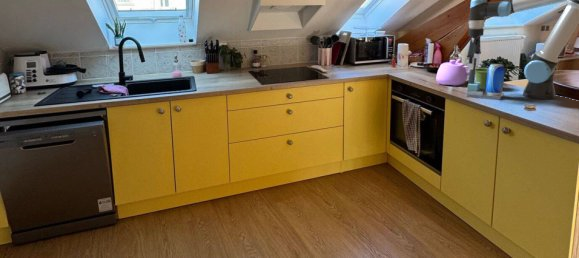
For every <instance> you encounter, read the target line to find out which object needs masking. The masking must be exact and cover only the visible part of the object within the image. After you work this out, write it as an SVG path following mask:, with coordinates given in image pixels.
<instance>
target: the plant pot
mask: <svg viewBox="0 0 579 258" xmlns="http://www.w3.org/2000/svg"><path fill="white" fill-rule="evenodd" d="M488 68H489V67H486V68H485V67H478V68H477V67H476V69H475V82H480V88H486V82H487V72H488Z"/></svg>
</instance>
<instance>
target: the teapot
mask: <svg viewBox="0 0 579 258" xmlns="http://www.w3.org/2000/svg"><path fill="white" fill-rule="evenodd" d="M460 61H461V59H460V58H458V59H456V60H455V59H451V60H449V62H448V61H447V62H443V63H441V64H440V66H439V68H438V70H437V73H436V78H435V80H436V82H437V84H440V85H441V86H445V85H447V86H449V85H450V86H453V87H457V86H461V85H464V84H465V83H466V81H467V79H468V77H469V71H470V69H468V65H465V64H464V63H462V62H460ZM467 70H468V71H467Z"/></svg>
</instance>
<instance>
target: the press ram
mask: <svg viewBox="0 0 579 258" xmlns="http://www.w3.org/2000/svg"><path fill="white" fill-rule="evenodd" d="M476 59H477V58H474V66H473V70H471V69H470V71H469V75H468V84H467V86H466V87H467V90H466V92H467V91H468V90H470V91H480V82H476V75H475V69H477V66H476Z"/></svg>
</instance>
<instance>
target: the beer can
mask: <svg viewBox="0 0 579 258" xmlns="http://www.w3.org/2000/svg"><path fill="white" fill-rule="evenodd" d="M487 68H488V72H487V82H486V93H487V94H489V95H500V94H501V93H503V91H504V89H503V88H504V81H505V74H506V73H505V72H506V71H505V70H506V69H505V67H504V64H501V63H491V64H489V67H487Z"/></svg>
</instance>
